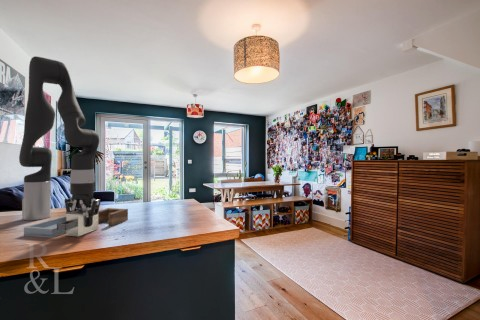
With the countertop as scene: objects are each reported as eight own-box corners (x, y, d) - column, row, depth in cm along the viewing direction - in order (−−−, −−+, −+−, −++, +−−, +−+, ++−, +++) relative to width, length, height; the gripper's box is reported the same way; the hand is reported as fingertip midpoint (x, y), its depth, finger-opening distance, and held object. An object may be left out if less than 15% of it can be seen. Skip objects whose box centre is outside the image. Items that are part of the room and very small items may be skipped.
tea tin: (55, 239, 76) (55, 214, 75) (87, 227, 88) (87, 206, 88) (67, 240, 75) (68, 215, 75) (98, 228, 88) (98, 207, 87)
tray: (23, 235, 80) (23, 227, 80) (65, 222, 95) (65, 215, 95) (51, 237, 78) (51, 229, 78) (89, 224, 93) (89, 217, 93)
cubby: (91, 224, 93) (91, 212, 93) (108, 218, 103) (108, 207, 103) (112, 226, 92) (112, 214, 92) (127, 219, 101) (127, 209, 101)
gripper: (56, 181, 80) (56, 227, 81) (90, 183, 78) (90, 230, 78) (75, 179, 88) (75, 221, 88) (107, 181, 85) (106, 224, 86)
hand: (82, 225), depth 83 cm, fingers closed on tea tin, 5 cm apart
